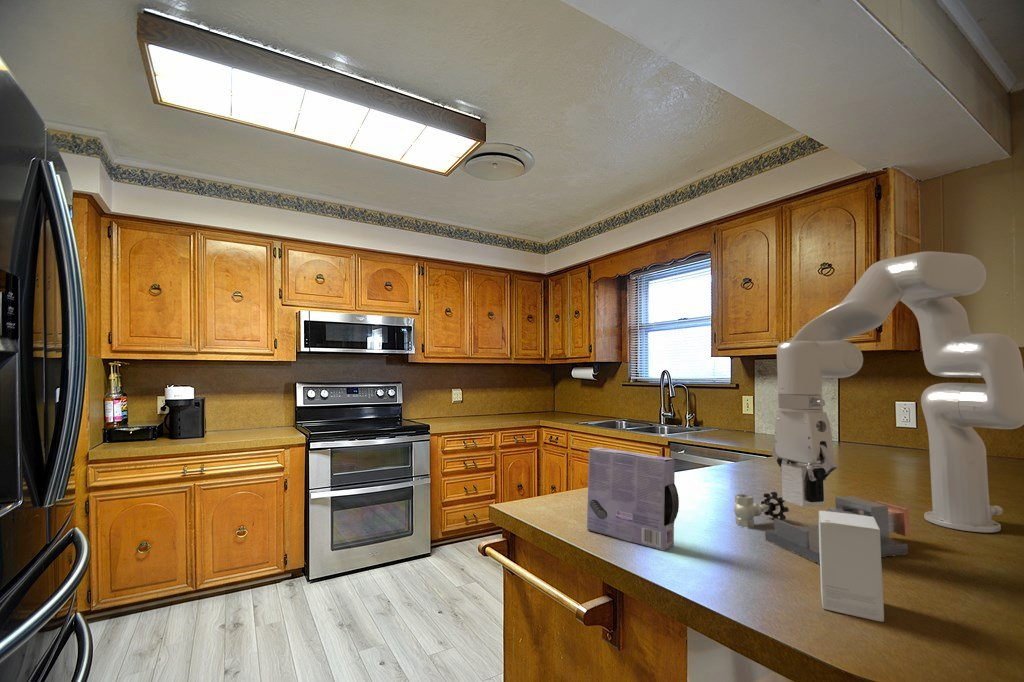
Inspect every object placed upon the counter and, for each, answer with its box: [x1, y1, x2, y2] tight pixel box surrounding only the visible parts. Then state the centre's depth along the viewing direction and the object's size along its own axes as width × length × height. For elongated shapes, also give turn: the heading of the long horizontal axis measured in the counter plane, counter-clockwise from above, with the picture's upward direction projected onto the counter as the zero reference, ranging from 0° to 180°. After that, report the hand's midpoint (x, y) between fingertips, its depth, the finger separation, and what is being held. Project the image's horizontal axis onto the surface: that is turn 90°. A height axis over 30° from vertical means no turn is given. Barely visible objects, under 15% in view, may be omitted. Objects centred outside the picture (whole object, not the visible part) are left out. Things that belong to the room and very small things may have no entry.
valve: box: [733, 491, 790, 528], centre depth 110 cm, size 7×7×12 cm
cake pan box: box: [586, 446, 680, 552], centre depth 101 cm, size 19×5×18 cm, turn 47°
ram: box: [827, 500, 911, 537], centre depth 97 cm, size 14×6×5 cm, turn 103°
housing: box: [781, 462, 826, 508], centre depth 94 cm, size 6×5×7 cm
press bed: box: [764, 495, 909, 563], centre depth 95 cm, size 20×13×8 cm, turn 103°
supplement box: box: [818, 510, 885, 623], centre depth 72 cm, size 7×7×13 cm
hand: (803, 496), depth 94 cm, fingers closed on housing, 5 cm apart
